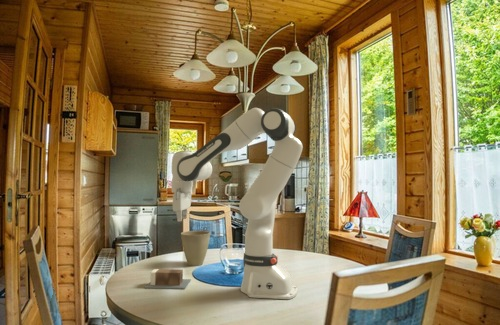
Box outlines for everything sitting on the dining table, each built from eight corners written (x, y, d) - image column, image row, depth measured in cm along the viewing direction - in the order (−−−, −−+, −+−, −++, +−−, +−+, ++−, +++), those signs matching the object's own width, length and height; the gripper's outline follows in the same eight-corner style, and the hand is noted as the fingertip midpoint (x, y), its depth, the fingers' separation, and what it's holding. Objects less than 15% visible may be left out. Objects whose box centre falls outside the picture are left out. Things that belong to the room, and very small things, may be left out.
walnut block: (182, 269, 140) (154, 269, 141) (179, 272, 135) (150, 272, 136) (182, 281, 140) (154, 281, 140) (179, 285, 135) (150, 284, 135)
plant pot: (211, 260, 178) (212, 230, 179) (207, 268, 163) (208, 235, 164) (183, 260, 178) (184, 230, 179) (177, 267, 164) (177, 235, 164)
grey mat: (190, 280, 143) (190, 279, 143) (184, 289, 132) (184, 287, 132) (153, 280, 144) (153, 278, 144) (144, 288, 133) (144, 286, 133)
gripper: (183, 188, 136) (184, 222, 135) (193, 187, 157) (193, 217, 156) (168, 188, 136) (168, 223, 135) (180, 187, 157) (180, 217, 156)
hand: (182, 220), depth 146 cm, fingers open, 8 cm apart
